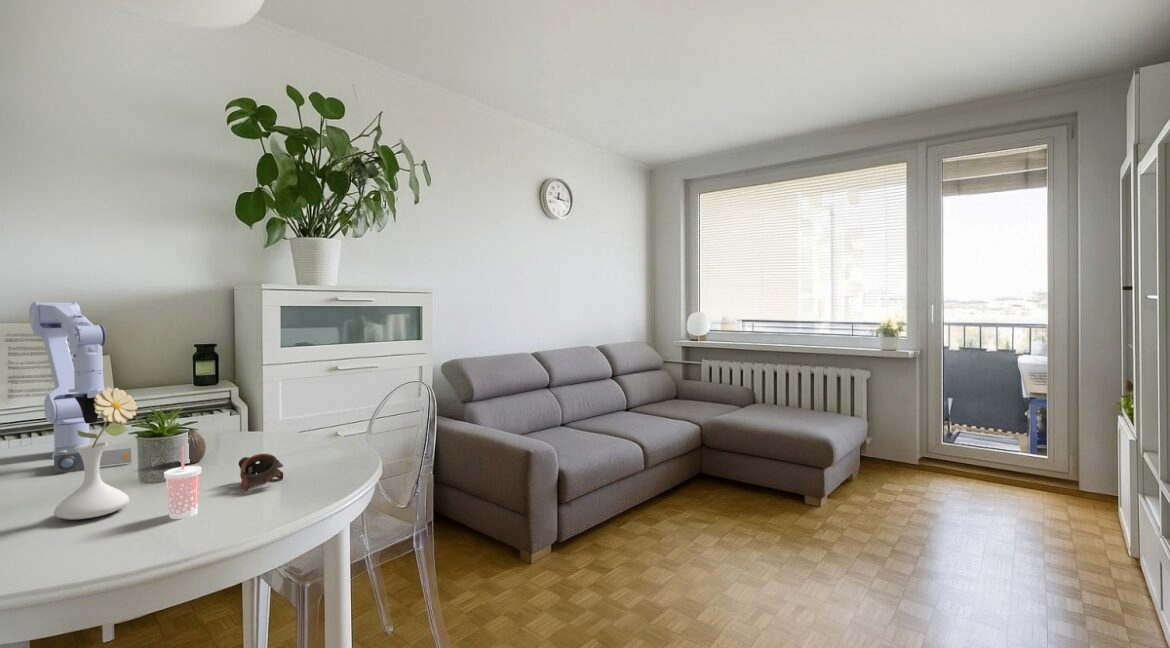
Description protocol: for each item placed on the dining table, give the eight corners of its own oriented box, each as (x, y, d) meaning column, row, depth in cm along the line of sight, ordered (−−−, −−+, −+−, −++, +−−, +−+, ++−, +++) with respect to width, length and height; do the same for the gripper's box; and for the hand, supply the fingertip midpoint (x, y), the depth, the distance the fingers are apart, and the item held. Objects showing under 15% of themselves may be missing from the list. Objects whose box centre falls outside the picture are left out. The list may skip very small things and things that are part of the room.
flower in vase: (65, 530, 104) (61, 396, 103) (45, 517, 110) (41, 390, 109) (149, 508, 115) (146, 387, 114) (126, 497, 121) (123, 382, 120)
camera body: (57, 464, 144) (56, 445, 144) (88, 460, 148) (87, 441, 148) (54, 475, 136) (53, 454, 135) (87, 470, 140) (86, 450, 139)
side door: (131, 461, 146) (131, 447, 146) (131, 462, 145) (130, 448, 145) (90, 466, 142) (89, 451, 142) (89, 467, 140) (88, 452, 140)
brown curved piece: (296, 481, 134) (290, 457, 130) (264, 510, 127) (256, 485, 122) (257, 464, 137) (250, 440, 133) (223, 492, 130) (214, 467, 125)
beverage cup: (180, 508, 115) (179, 441, 114) (209, 509, 114) (208, 441, 114) (156, 520, 108) (155, 449, 108) (187, 520, 108) (186, 449, 108)
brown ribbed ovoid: (212, 459, 150) (211, 426, 150) (191, 466, 144) (191, 432, 143) (188, 458, 151) (188, 426, 151) (167, 465, 144) (166, 432, 144)
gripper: (65, 370, 148) (67, 421, 149) (70, 374, 138) (72, 428, 139) (100, 368, 153) (102, 417, 154) (107, 371, 143) (109, 424, 144)
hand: (90, 422), depth 146 cm, fingers closed
